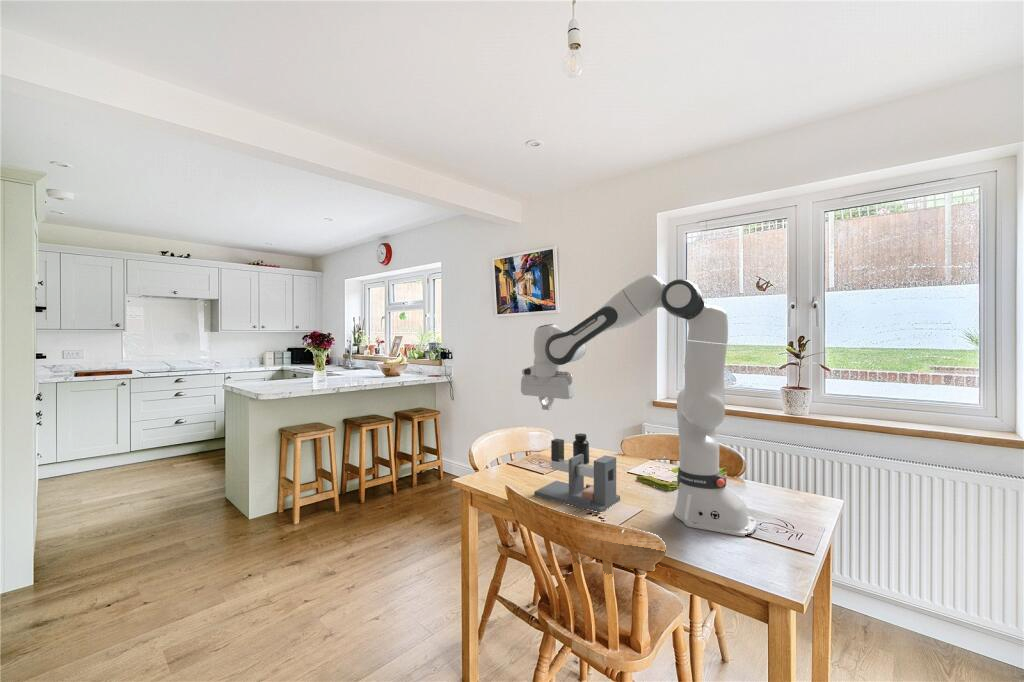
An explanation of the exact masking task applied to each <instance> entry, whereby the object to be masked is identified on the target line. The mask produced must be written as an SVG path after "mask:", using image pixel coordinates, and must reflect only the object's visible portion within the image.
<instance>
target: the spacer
mask: <svg viewBox="0 0 1024 682" xmlns="http://www.w3.org/2000/svg"><path fill="white" fill-rule="evenodd" d="M582 497H583V498H587V499H591V500H592V502H593V501H594V487H592V486H591V487H589V488H587V489H585V490H583V491H582Z"/></svg>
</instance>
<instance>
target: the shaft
mask: <svg viewBox="0 0 1024 682" xmlns="http://www.w3.org/2000/svg"><path fill="white" fill-rule="evenodd" d="M550 443H551V444H550V445H551V446H550V448H551V451H550V452H551V453H550V455H551V458H550V459H551V470H555V471H558V472H564V473H568V474H569V460H565V439H561V438H560V439H559V438H554V439H552V440H551V442H550ZM575 474H576V475H581V476H584V477H587V478H591V479H594V465H590V464H581V463H577V464H575Z"/></svg>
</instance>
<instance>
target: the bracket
mask: <svg viewBox="0 0 1024 682" xmlns="http://www.w3.org/2000/svg"><path fill="white" fill-rule="evenodd" d="M568 461H569V473H568V482H564V481H559V480H555V481H553V482H551V483H548V484H547V485H545V486H542V487H540V488H539V489H537V490H535V491H534V497H537V498H541V499H545V500H549V501H552V500H553V501H552V502H557V503H559V502H560V503H559V504H563V503H565V504H564V505H567V504H569V505H568V506H570V505H573V506H572V507H574V506H576V507H575V508H578V507H580V508H579V509H582V508H584V509H583V510H585V509H589V510H593V511H597V512H603V511H604V510H605V511H607V510H608V509H609V507H610V506H611V507H613V506H614V505H615V504H617V503H618V502H619V501H621V495H620V494H617V457H616V456H609V455H606V454H605V455H603V456H601V457H598V458H596V459H595V460H593V466H594V478H593V484H588V483H587V484H585V480H584V479H585V476H581V475H576V474H575V464H577V463H581V464H584V454H579V455H577V456H574V457H573V456H572V457H569V458H568ZM591 486H592V487H594V501H593V502H592V500H591V499H587V498H583V497H582V491H583V490H585V489H587V488H589V487H591ZM613 504H614V505H613ZM612 505H613V506H612ZM611 507H610V508H611ZM607 508H608V509H607ZM606 509H607V510H606ZM589 510H588V511H589ZM593 511H592V512H593ZM605 511H604V512H605ZM604 512H603V513H604Z"/></svg>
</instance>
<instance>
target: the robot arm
mask: <svg viewBox="0 0 1024 682" xmlns="http://www.w3.org/2000/svg"><path fill="white" fill-rule="evenodd" d="M658 308H663V309H665V310H666V311H667V312H668V313H669V314H670V315H672V316H673V317H676V318H679V319H685V320H686V322H687V324H688V333H687V341H686V348H685V357H684V365H683V367H684V368H683V369H684V388H683V389H682V390H680V392H679V393H678V394H677V397H676V398H677V399H676V408H677V409H676V416H677V430H678V438H679V439H678V440H679V466H678V467H679V468H678V475H677V480H678V486H679V489H678V490H677V498H676V503H675V507H674V510H673V515H674V516H675V518H677V519H679V520H680V521H682V522H683V523H684V525H685V526H686V527H689V528H693V529H694V528H695V529H700V530H705V531H711V532H716V533H722V534H728V535H733V536H738V537H746V536H745V535H747V534H749V533H750V532H752V531H754V530H755V528H756V526H757V527H758V524H757V520H756V518H754V517H753V516H750V515H749V512H748V507H747V504H746V502H745V500H744V499H743V498H742V497H740V496H739V495H738V494H736V493H735V492H734V491H733V490H732V489H731V488H729V486H728V485H727V477H728V473H727V474H726V475H723V474H722V473H721V472H720V471H719V468H720V443H719V439H718V434H717V427H719V426H720V425H721V424H722V423H723V422H724V420H725V417H726V408H725V399H726V398H725V397H726V396H725V395H726V394H725V391H726V390H725V367H726V366H725V365H726V357H727V348H728V342H729V341H728V338H729V322H728V314H727V312H726V310H725V309H723V308H721V307H720V306H717V305H712V304H707V303H705V301H704V298H703V295H702V291H701V290H700V288H699V287H698V286H697V285H696V284H695V283H694V282H692V281H690V280H689V279H684V278H679V279H673V280H672V281H670V282H668V283H665V281H663V279H662V278H661V277H660V276H657V275H656V274H652V273H651V274H650V273H649V274H646V275H644V276H642V277H640V278H638V279H635V280H634V281H633V282H631V283H629V284H628V285H626V286H625V287H623V288H622V289H621V290H619V291H618V292H617V293H615V294H614V295H613V296H612V297H611V298H610V299H609V300H607V302H606V303H604V304H603V305H602V306H601V307H600V308H599V309H597V310H596V311H595V312H594V313H593V314H591V315H590V316H589V317H587V318H585V319H584V320H583V321H582V322H580V323H578V324H577V325H575V326H574V327H572V328H571V329H569V330H567V331H566V330H564V329H562V328H560V327H559V326H558V325H557V324H554V323H551V324H550V323H549V324H544V325H540V326H538V327H536V328H535V331H534V334H533V335H534V336H533V353H534V359H533V365H532V366H529V367H526V368H523V369H522V370H521V375H523V376H521V381H520V392H521V393H520V394H522V395H523V396H530V397H531V396H532V397H538V400H539V402H540V404H541V410H542V411H543V410H544V411H552V405H553V403H554V401H555V399H561V400H562V399H563V400H570V399H572V398H573V397H574V385H573V375H572V373H569V372H568V371H561V370H560V366H563V365H566V364H568V363H572V362H576V361H578V360H580V359H582V358H583V357H584V356H585V354H586V351H587V343H588V342H590V341H592V340H593V339H594V338H596V337H598V335H600V334H602V333H604V332H607V331H609V330H610V331H611V330H614V329H619V328H624V327H627V326H629V325H632V324H633V323H635V322H637V321H639V320H640V319H642V318H643V317H645V316H646V315H648V314H649V313H650V312H652V311H654V310H656V309H658ZM546 398H547V401H548V403H546V401H545V400H546ZM756 529H757V528H756ZM755 531H756V530H755Z"/></svg>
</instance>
